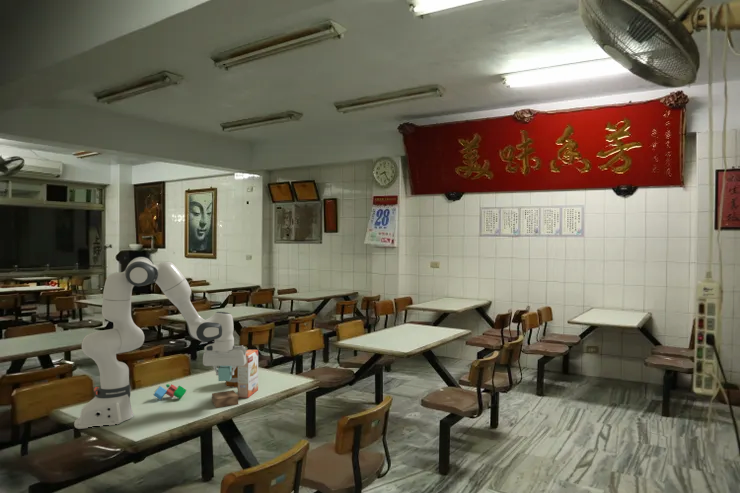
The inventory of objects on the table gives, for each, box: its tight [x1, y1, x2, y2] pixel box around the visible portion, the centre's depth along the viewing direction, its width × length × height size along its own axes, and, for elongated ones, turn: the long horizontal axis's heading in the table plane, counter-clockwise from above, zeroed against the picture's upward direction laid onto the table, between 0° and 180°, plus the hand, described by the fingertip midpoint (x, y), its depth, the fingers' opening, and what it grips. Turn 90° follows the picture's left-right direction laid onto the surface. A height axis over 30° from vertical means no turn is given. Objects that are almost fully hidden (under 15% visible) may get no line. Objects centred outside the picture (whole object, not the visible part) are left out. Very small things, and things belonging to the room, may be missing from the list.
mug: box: [225, 366, 238, 388], centre depth 262 cm, size 20×14×15 cm
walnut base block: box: [211, 389, 239, 409], centre depth 232 cm, size 10×10×4 cm
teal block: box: [217, 366, 232, 382], centre depth 231 cm, size 5×5×6 cm
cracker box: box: [237, 349, 259, 399], centre depth 246 cm, size 14×6×21 cm, turn 173°
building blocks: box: [153, 383, 187, 400], centre depth 239 cm, size 8×8×12 cm
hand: (225, 375), depth 231 cm, fingers closed on teal block, 5 cm apart
